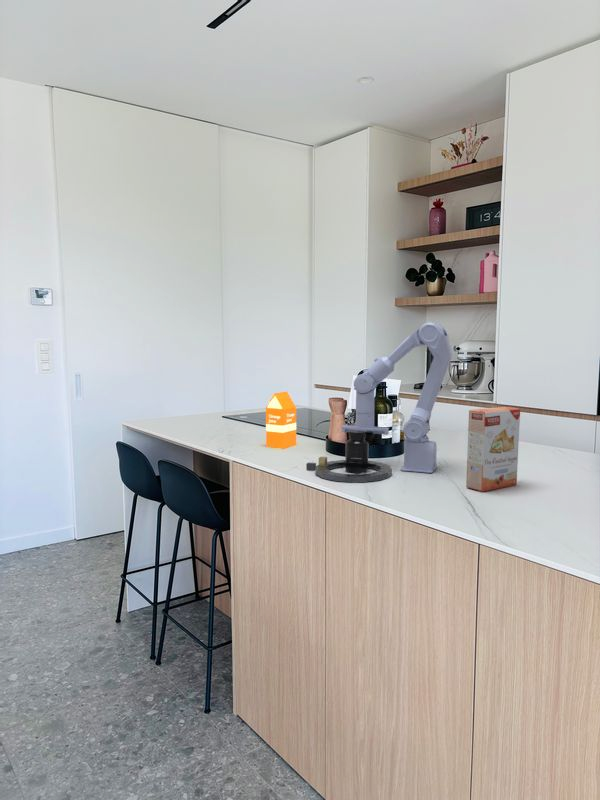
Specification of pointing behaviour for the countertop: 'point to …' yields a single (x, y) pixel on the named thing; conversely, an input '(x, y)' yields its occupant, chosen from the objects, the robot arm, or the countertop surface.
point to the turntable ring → (324, 472)
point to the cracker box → (492, 448)
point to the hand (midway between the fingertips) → (364, 456)
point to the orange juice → (281, 421)
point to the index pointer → (311, 466)
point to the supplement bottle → (356, 452)
